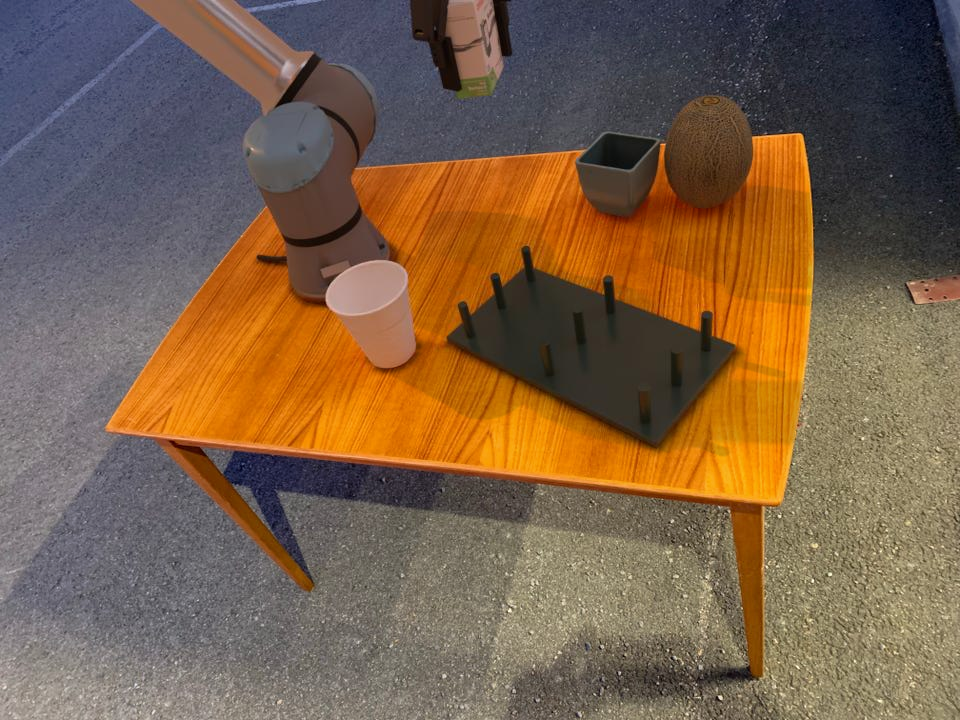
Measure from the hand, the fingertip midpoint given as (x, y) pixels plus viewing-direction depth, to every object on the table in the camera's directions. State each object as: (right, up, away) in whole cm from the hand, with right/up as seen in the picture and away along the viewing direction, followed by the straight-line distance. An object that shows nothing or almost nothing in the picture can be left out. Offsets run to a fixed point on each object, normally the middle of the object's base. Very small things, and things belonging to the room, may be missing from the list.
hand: (478, 71), depth 91 cm
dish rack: (+12, -36, -9) cm, 40 cm away
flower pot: (+21, -16, +9) cm, 28 cm away
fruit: (+32, -16, +6) cm, 36 cm away
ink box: (0, -1, +1) cm, 2 cm away
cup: (-11, -37, -3) cm, 39 cm away
